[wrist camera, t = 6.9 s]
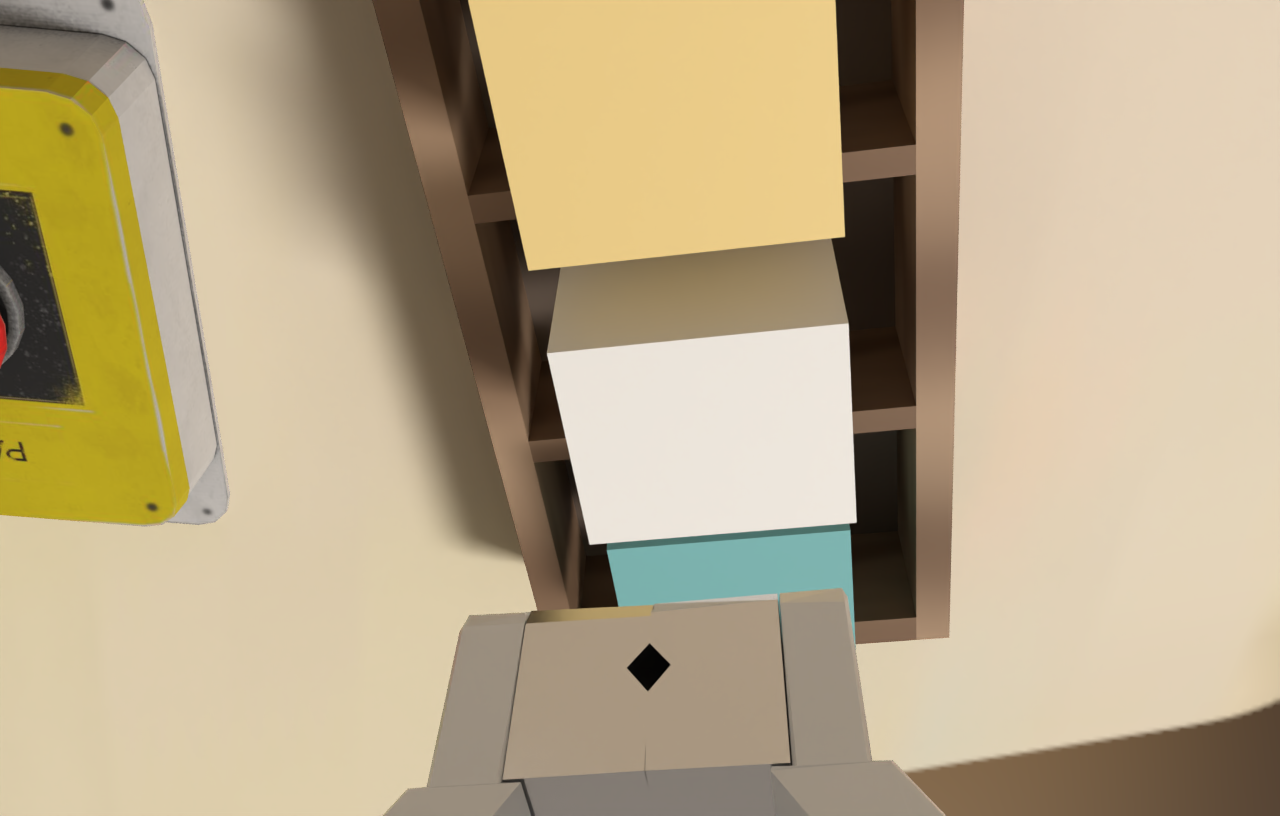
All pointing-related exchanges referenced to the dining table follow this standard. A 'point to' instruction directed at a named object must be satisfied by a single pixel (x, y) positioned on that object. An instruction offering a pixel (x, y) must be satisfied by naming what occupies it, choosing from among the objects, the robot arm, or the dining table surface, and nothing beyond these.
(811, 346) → the white block
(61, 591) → the dining table surface
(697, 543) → the teal block
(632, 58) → the yellow block
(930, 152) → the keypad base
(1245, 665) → the dining table surface
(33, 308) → the emergency button
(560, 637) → the robot arm
